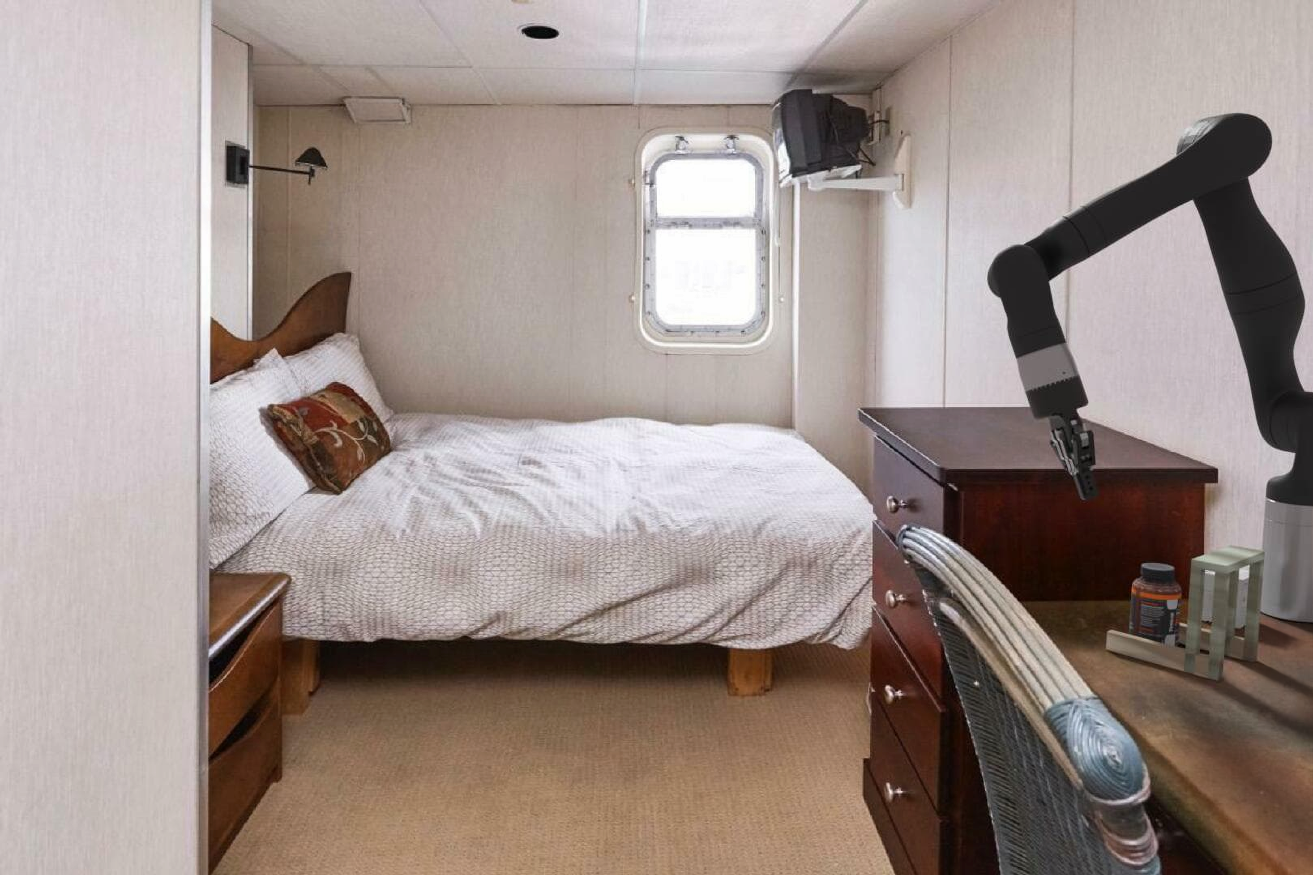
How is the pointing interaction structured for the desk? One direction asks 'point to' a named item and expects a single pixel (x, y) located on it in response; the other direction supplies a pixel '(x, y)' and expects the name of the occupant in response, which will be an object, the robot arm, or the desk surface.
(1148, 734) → the desk surface
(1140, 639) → the channel
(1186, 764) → the desk surface
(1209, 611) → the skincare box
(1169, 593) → the supplement bottle
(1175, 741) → the desk surface
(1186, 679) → the desk surface
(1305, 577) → the robot arm
